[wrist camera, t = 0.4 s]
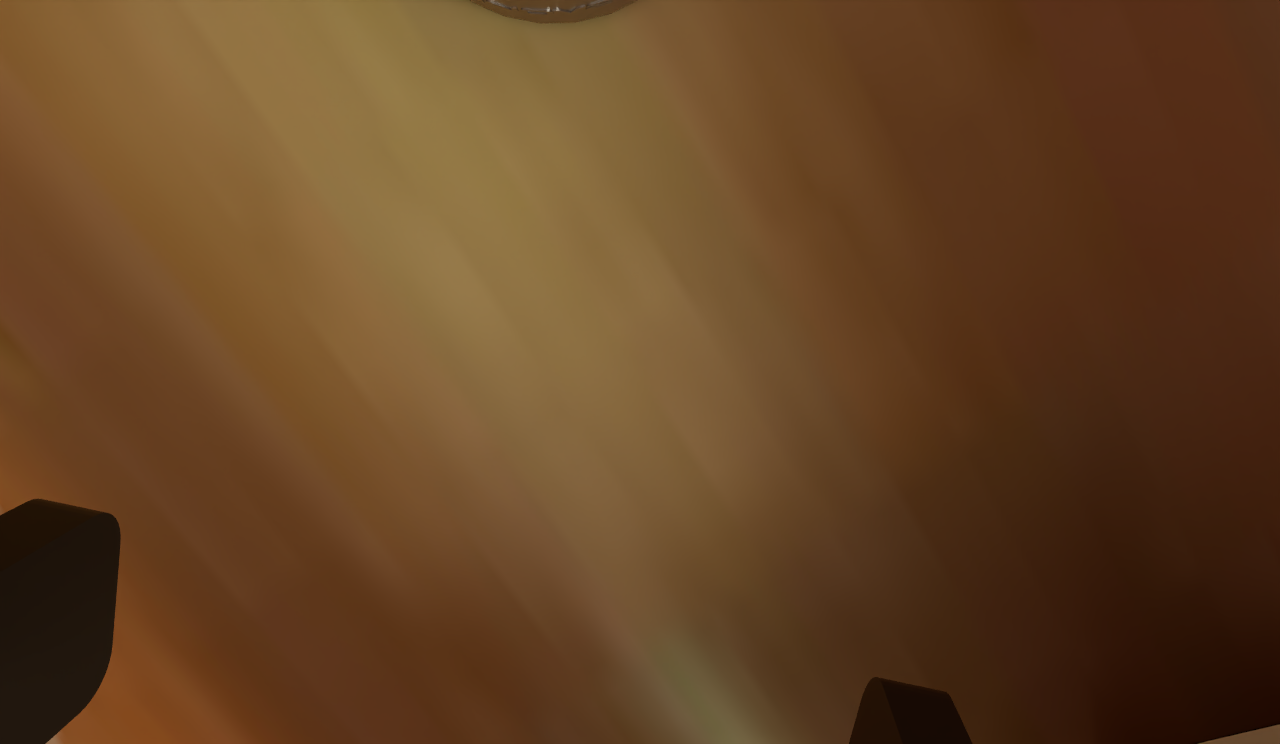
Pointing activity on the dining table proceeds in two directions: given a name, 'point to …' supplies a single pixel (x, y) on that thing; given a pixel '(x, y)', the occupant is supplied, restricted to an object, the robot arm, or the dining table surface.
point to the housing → (1251, 737)
